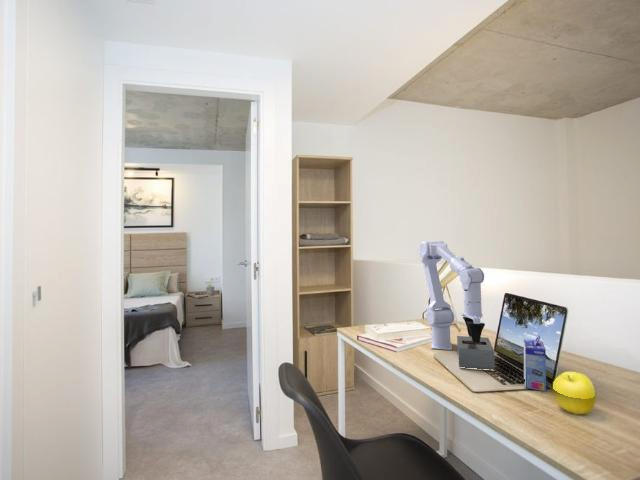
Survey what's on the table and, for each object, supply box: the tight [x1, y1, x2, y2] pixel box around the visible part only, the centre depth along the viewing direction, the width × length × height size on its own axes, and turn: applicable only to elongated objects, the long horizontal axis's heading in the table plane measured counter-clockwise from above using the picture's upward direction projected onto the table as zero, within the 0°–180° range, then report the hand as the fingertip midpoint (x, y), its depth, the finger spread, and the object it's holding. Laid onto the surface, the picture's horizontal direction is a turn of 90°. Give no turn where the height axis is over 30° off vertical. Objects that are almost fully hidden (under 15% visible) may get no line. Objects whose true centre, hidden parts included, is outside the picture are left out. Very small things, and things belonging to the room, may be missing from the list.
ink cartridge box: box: [523, 335, 547, 392], centre depth 105 cm, size 10×6×14 cm, turn 152°
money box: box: [456, 335, 496, 370], centre depth 125 cm, size 16×11×7 cm
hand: (474, 339), depth 125 cm, fingers open, 7 cm apart
